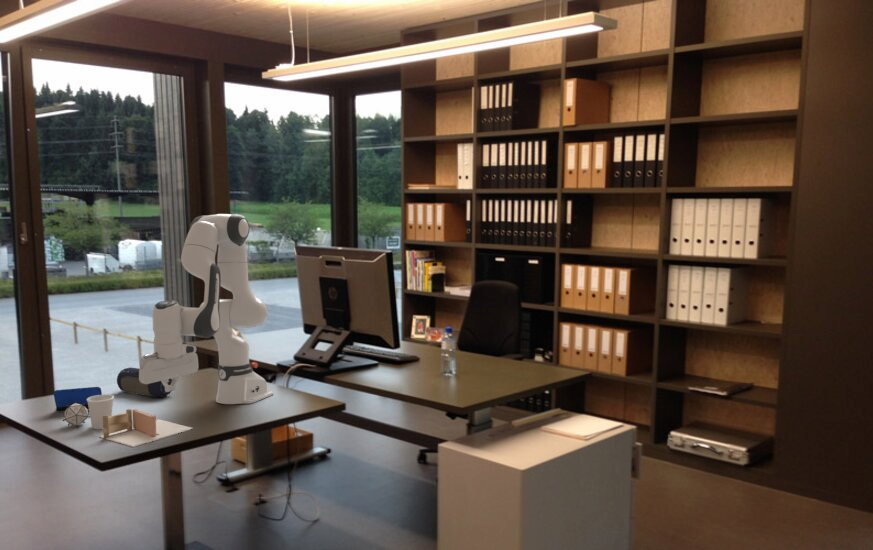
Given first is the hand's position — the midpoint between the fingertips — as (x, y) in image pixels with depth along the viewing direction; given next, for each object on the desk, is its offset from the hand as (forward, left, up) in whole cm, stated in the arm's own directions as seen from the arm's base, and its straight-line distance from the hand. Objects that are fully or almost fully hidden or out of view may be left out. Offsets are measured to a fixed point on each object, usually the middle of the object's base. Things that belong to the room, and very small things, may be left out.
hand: (170, 391), depth 238 cm
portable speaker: (-23, -48, -13) cm, 55 cm away
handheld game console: (+2, -50, -14) cm, 52 cm away
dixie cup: (+11, -22, -13) cm, 28 cm away
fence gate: (+8, -3, -12) cm, 15 cm away
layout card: (+7, -3, -13) cm, 15 cm away
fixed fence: (+13, -9, -13) cm, 21 cm away
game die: (+15, -30, -13) cm, 36 cm away
